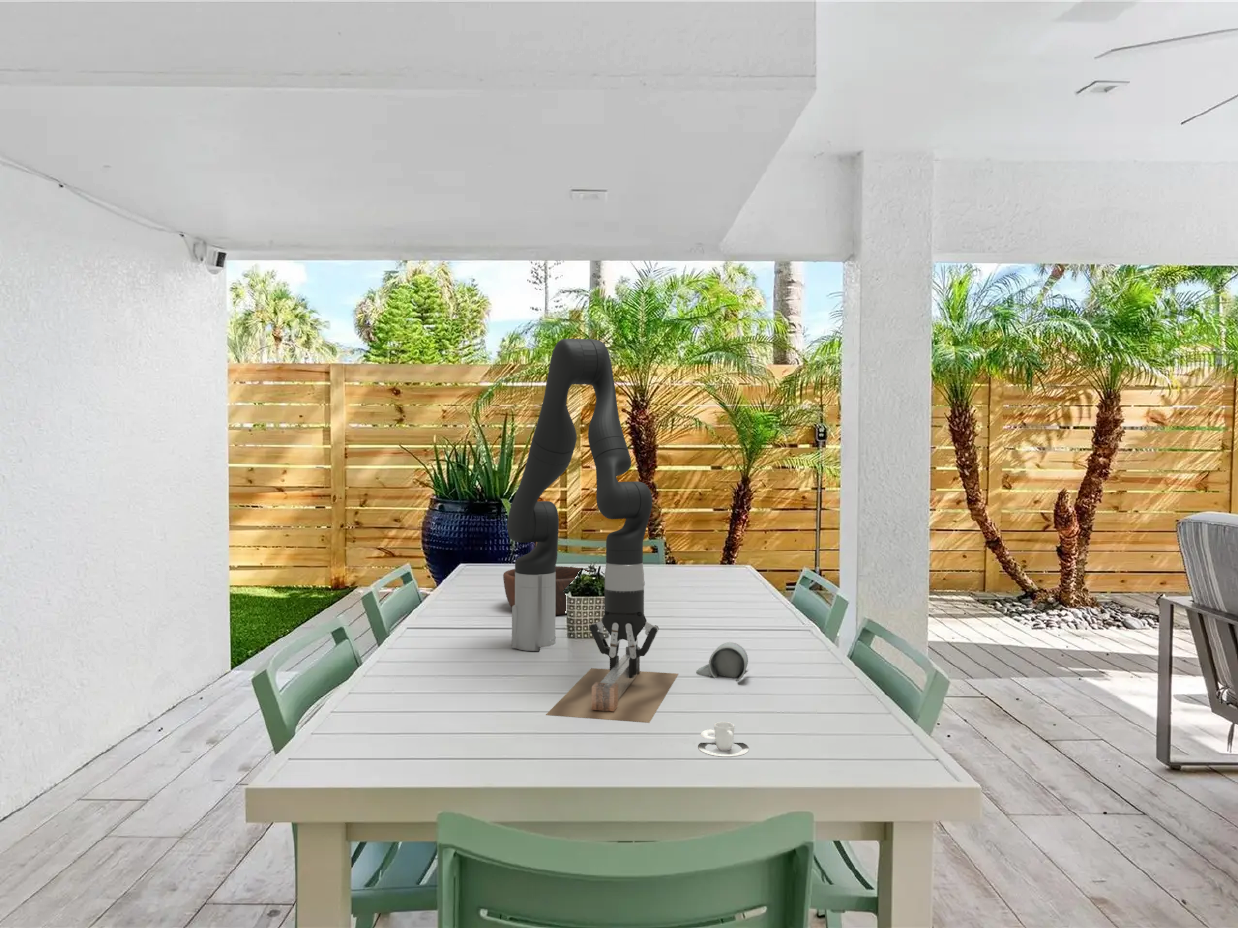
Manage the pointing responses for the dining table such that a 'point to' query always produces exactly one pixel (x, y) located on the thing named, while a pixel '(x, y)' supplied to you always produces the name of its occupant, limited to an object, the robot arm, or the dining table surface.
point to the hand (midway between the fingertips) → (623, 676)
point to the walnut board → (632, 704)
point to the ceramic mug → (726, 662)
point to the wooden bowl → (562, 581)
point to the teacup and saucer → (722, 739)
